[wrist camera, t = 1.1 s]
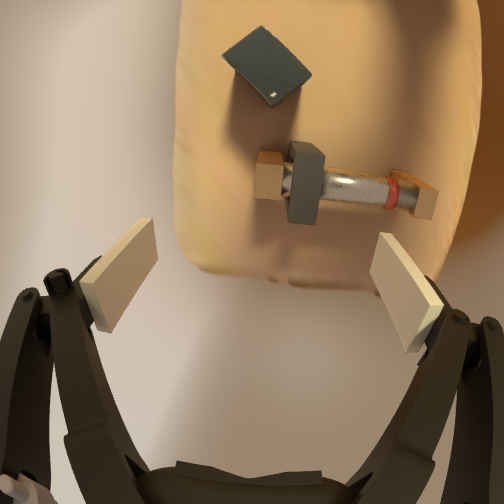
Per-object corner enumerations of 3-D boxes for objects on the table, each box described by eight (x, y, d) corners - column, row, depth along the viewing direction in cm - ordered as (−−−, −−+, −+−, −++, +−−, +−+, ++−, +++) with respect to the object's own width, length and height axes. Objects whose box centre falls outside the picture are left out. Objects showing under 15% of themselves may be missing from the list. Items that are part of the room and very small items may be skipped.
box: (303, 84, 32) (314, 75, 22) (271, 108, 34) (271, 107, 25) (265, 45, 29) (261, 22, 20) (233, 69, 31) (219, 55, 22)
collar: (284, 193, 39) (288, 222, 30) (289, 140, 35) (295, 152, 26) (305, 195, 39) (315, 225, 30) (311, 143, 35) (325, 155, 26)
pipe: (258, 178, 39) (253, 198, 31) (260, 150, 37) (255, 162, 29) (402, 196, 38) (431, 220, 30) (408, 172, 36) (439, 191, 28)
